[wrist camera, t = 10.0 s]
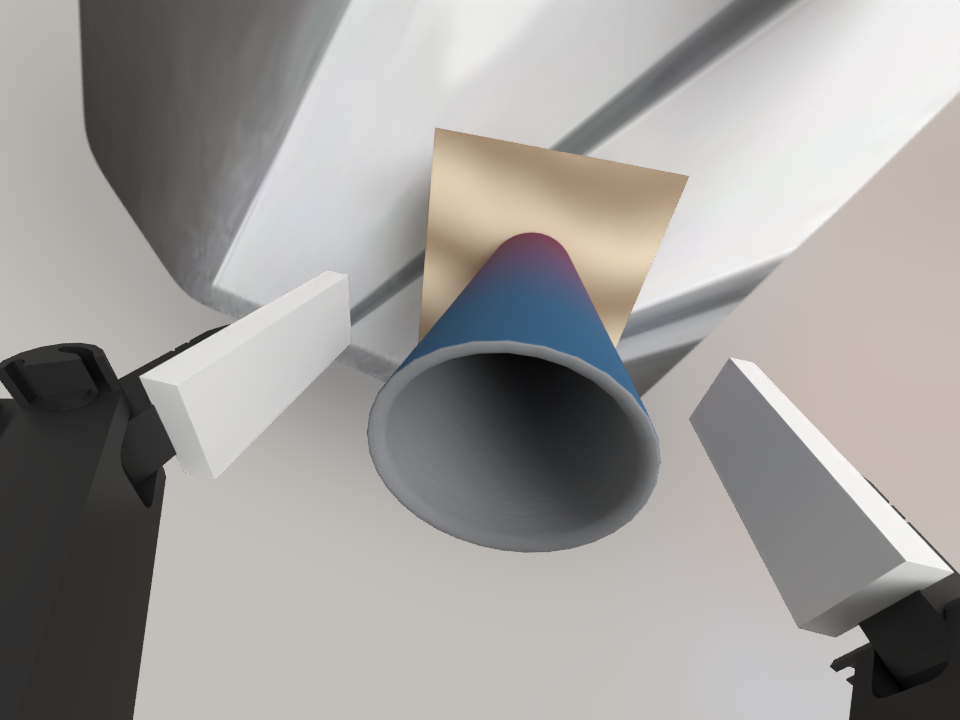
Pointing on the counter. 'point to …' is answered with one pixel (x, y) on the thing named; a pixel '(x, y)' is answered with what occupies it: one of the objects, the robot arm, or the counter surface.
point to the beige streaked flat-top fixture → (542, 218)
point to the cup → (517, 413)
